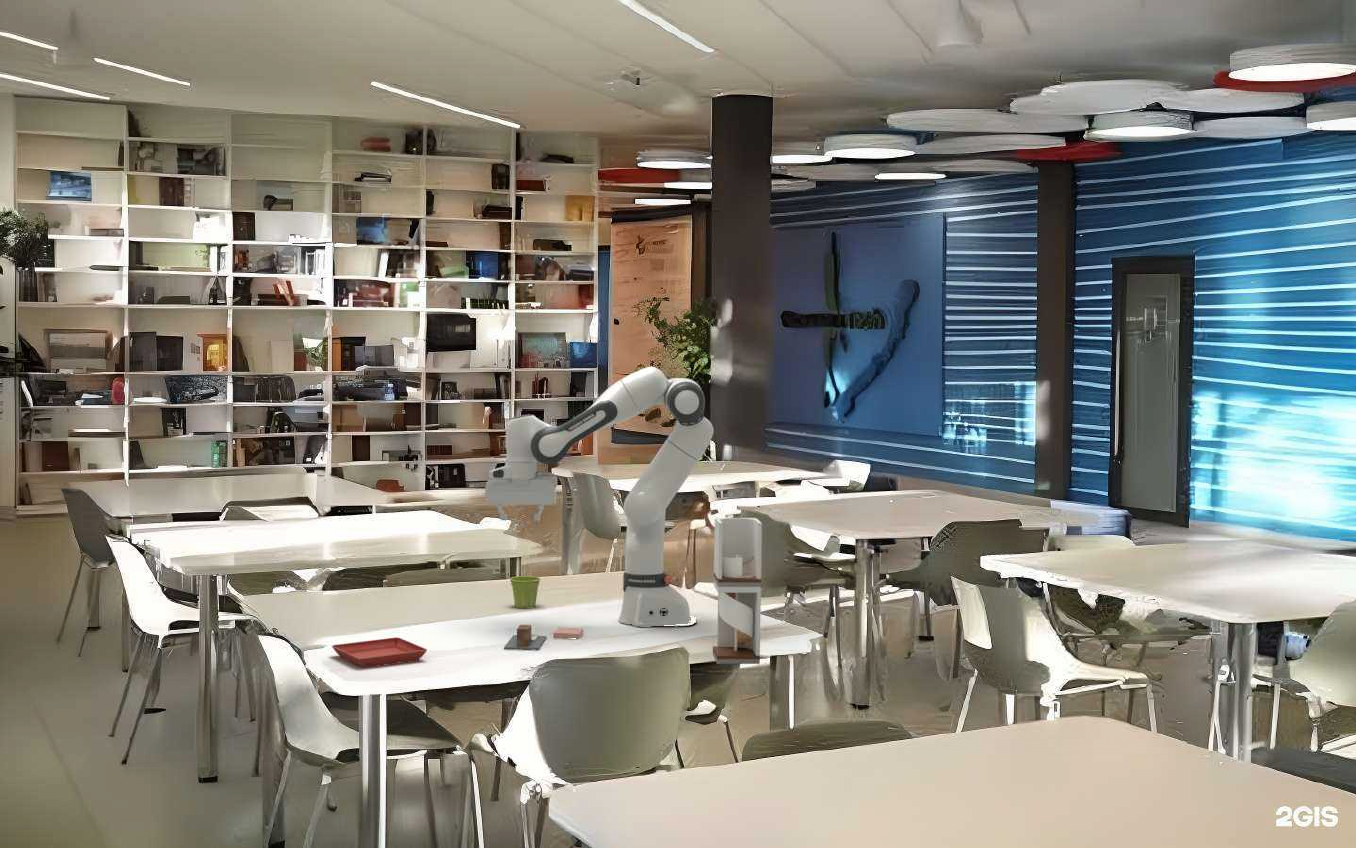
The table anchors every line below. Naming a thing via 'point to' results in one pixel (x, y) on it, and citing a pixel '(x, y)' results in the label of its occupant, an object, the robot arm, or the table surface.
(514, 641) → the mat
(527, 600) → the plant pot
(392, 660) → the plant saucer
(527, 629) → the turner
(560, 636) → the tile
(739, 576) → the display case
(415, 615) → the table surface
